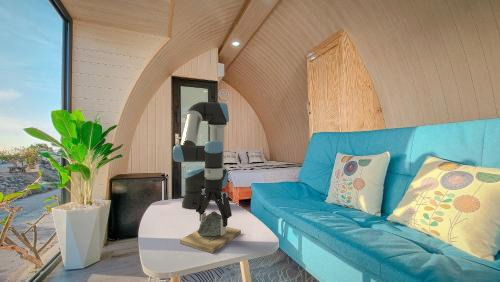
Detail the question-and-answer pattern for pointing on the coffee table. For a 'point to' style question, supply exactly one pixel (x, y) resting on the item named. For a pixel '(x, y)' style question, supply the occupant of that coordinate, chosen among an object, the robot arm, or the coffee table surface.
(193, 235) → the board
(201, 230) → the stone
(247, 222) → the coffee table surface
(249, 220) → the coffee table surface
